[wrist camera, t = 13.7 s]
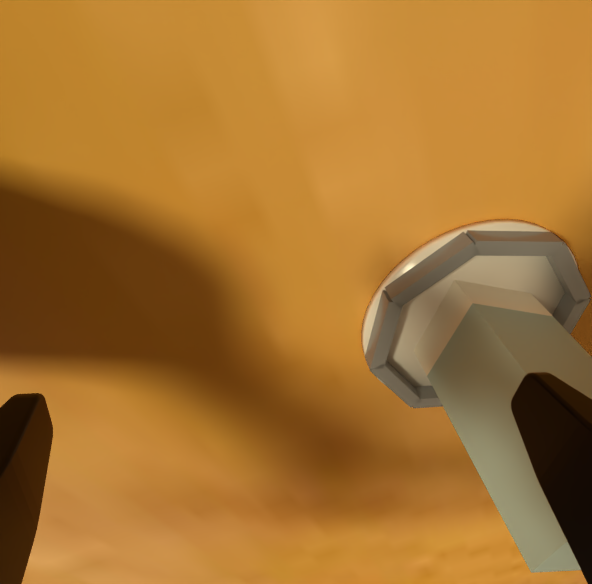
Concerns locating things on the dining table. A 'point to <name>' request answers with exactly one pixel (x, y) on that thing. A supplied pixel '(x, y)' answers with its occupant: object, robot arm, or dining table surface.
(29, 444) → the robot arm
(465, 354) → the gray block
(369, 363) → the coaster
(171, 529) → the dining table surface
